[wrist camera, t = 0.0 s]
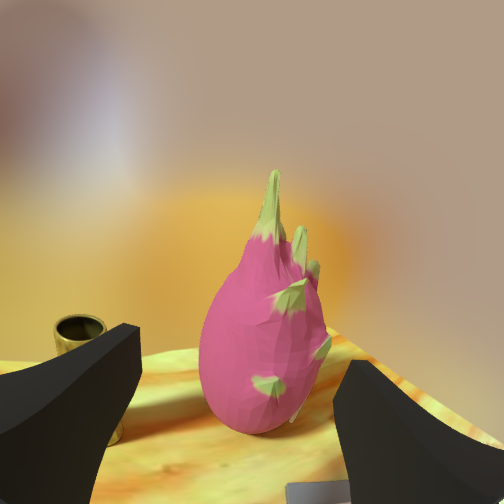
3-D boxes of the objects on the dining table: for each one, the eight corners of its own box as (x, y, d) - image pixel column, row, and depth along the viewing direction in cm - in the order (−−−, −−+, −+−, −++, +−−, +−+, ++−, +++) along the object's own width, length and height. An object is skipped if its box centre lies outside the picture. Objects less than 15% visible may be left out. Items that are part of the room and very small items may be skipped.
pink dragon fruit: (309, 469, 24) (409, 191, 18) (186, 465, 22) (222, 146, 16) (284, 382, 41) (330, 189, 35) (198, 373, 39) (226, 169, 33)
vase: (125, 415, 27) (116, 316, 24) (121, 451, 21) (103, 350, 18) (80, 407, 25) (62, 307, 22) (70, 441, 19) (38, 337, 17)
